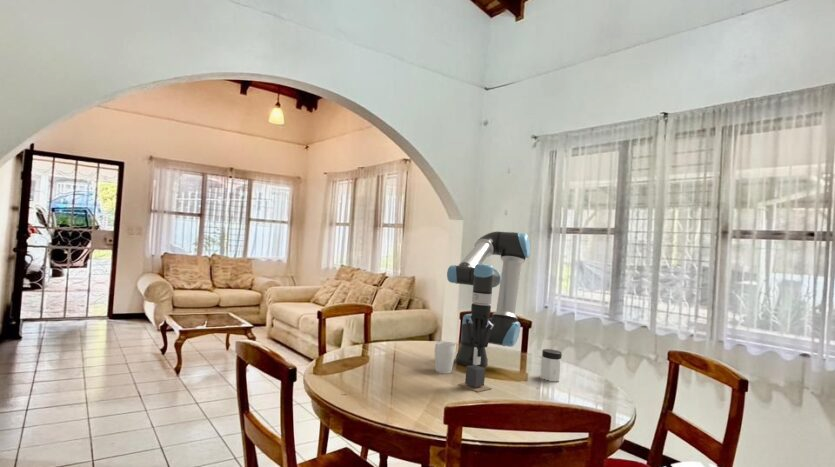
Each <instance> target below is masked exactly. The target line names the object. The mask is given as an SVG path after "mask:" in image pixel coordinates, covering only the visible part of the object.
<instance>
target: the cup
mask: <svg viewBox="0 0 835 467" xmlns="http://www.w3.org/2000/svg"><path fill="white" fill-rule="evenodd" d="M434 345H435V346H434V361H435V371H436V373H439V374H445V375H447V374H452V369H453V365H454V361H455V358H456V353H457V352H456V351H457V350H456V349H457V348H456V347H457V346H456V345H457V344H456V343H454V342H450V341H443V340H442V341H441V340H440V341H436V342H435V344H434Z"/></svg>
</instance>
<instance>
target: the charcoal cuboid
mask: <svg viewBox="0 0 835 467" xmlns="http://www.w3.org/2000/svg"><path fill="white" fill-rule="evenodd" d="M485 377H486V368H485V367H484V366H483V367H480V366H477V365H472V366H466V370H465V381H464V382H465V384H468V385H470V386H473V387H479V386H485Z"/></svg>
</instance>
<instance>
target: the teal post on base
mask: <svg viewBox="0 0 835 467" xmlns="http://www.w3.org/2000/svg"><path fill="white" fill-rule="evenodd" d="M458 386H460V387H463V388H466V389H468V390H471V391H474V392H476V393H480V392H485V391H486V392H487V391H488V390H489V391H490V390H492V388H491V387H490V386H486V385H484V386H479V387H473V386H470V385H468V384H465V381H464V382H460V383H458Z"/></svg>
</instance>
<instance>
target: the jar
mask: <svg viewBox="0 0 835 467" xmlns="http://www.w3.org/2000/svg"><path fill="white" fill-rule="evenodd" d="M541 352H542V353H541V354H542V355H541V363H540V374H539V376H540V377H539V378H540V379H541V378H542V380H544V379H545V380H544V381H547V380H549V381H548V382H556V381H558V380H559V379H561V367H562V366H561V365H562V351H560V350H556V349H552V348H551V349H550V348H545V349H543V348H542V351H541ZM559 381H560V380H559Z"/></svg>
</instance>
